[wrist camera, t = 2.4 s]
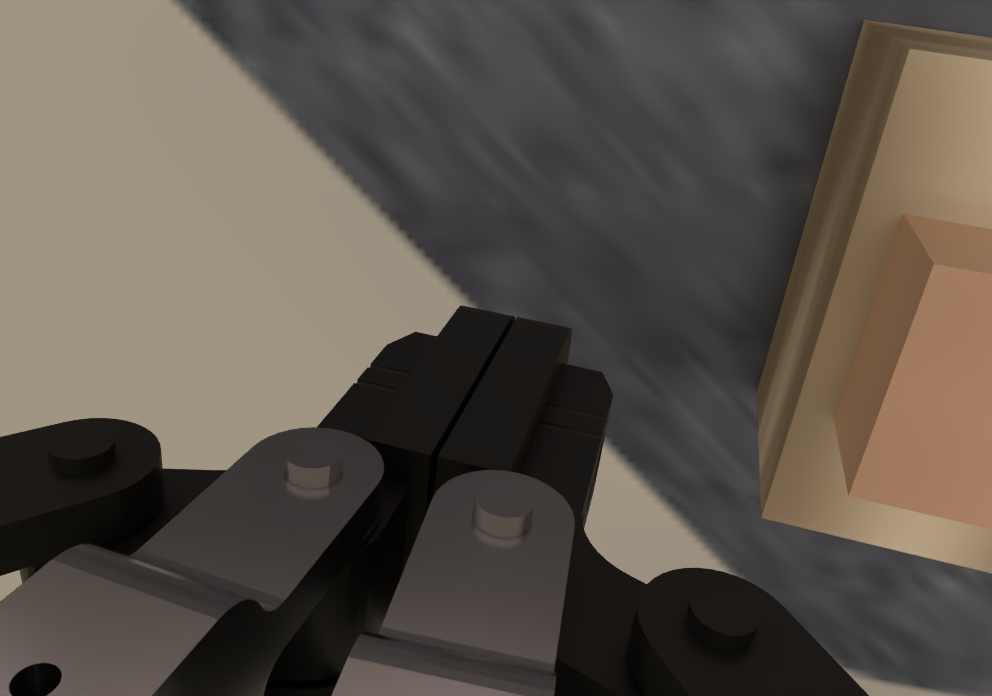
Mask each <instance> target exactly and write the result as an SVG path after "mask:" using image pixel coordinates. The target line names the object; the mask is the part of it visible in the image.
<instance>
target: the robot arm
mask: <svg viewBox="0 0 992 696" xmlns="http://www.w3.org/2000/svg"><path fill="white" fill-rule="evenodd" d="M571 333H572V329H571V328H567V327H563V326H558V325H553V324H548V323H543V322H539V321H534V320H529V319H524V318H520V317H517V318H516V320H515V317H514V316H509V315H504V314H500V313H495V312H490V311H485V310H481V309H476V308H471V307H466V306H460V307H459V308H458V309H457V310H456V312H455V313H454V315H453V316H452V317H451V319H450V320H449V321H448V323H447V324H446V325H445V327H444V328H443V329H442V331H441V332H440V334H439V335H438V336H432V335H428V334H423V333H418V332H414V333H412V334H410V335H408V336H405V337H403V338H401V339H399V340H397V341H394V342H392V343H390V344H388V345H386V347H385V348H384V349H383V350H382V351H381V352H380V354H379V355H378V356H377V357H376V358H375V359H374V361H373V362H372V363H371V366H370V368H367V369H366V370H365V371H364V373H363V374H362V375H361V376H360V377H359V378H358V381H357V384H355V383H354V384H353V385H352V386H351V388H350V389H349V390H348V391H347V392H346V394H345V395H344V396H343V397H342V398H341V399H340V401H339V402H338V403H337V404H336V405H335V407H334V408H333V409H332V410H331V411H330V412H329V414H328V415H327V416H326V417H325V418H324V419H323V421H322V422H321V423H320V424H319V425H318V427H317V428H313V427H312V428H299V429H293V430H288V431H284V432H281V433H277V434H275V435H272V436H269V437H267V438H266V439H264V440H262V441H260V442H259V443H257V444H256V445H255V446H253V447H252V448H251V449H250V450H249V451H248V452H247V453H245V454H244V455H243V456H242V457H241V458H240V459H239V460H238V461H237V462H235V463H234V464H233V465H232V466H231V467H230V468H229V469H228V470H188V469H162V457H161V448H160V443H159V441H158V439H157V437H156V436H155V435H154V434H153V433H152V432H151V431H149V430H147V429H146V428H144V427H142V426H140V425H138V424H135V423H132V422H128V421H124V420H118V419H109V418H89V419H80V420H73V421H68V422H63V423H59V424H54V425H50V426H46V427H41V428H37V429H33V430H28V431H25V432H20V433H16V434H12V435H7V436H3V437H0V576H1V575H5V574H7V573H11V572H14V571H17V570H20V574H21V580H22V584H21V585H20V586H19V587H18V588H16V589H15V590H14V591H13V592H12V593H10V594H9V595H8V596H6V597H5V598H4V599H3V600H1V601H0V696H869V695H868V694H867V693H866V692H865V691H864V690H863V689H862V688H861V687H860V686H859V685H858V684H857V683H856V682H855V681H854V680H853V679H852V677H851V676H850V675H849V674H848V673H847V672H846V671H845V670H844V669H843V668H842V667H841V666H840V665H839V664H838V663H837V662H836V661H835V660H834V659H833V658H832V657H831V656H830V655H829V653H828V652H827V651H826V650H825V649H824V648H823V647H822V646H821V645H820V644H819V643H818V642H817V641H816V640H815V639H814V638H813V637H812V636H811V635H810V634H809V633H808V632H807V631H806V630H805V628H804V627H803V626H802V625H801V624H800V623H799V622H798V621H797V620H796V619H795V618H794V617H793V616H792V615H791V614H790V613H789V612H788V611H787V610H786V609H785V608H784V607H783V606H782V605H781V604H780V603H779V602H778V601H777V600H776V599H775V598H774V597H772V596H771V595H769V594H768V593H767V592H765V591H764V590H763V589H761V588H759V587H757V586H756V585H754V584H752V583H750V582H748V581H746V580H744V579H742V578H739V577H737V576H734V575H731V574H728V573H725V572H721V571H716V570H712V569H703V568H683V569H676V570H672V571H669V572H666V573H663V574H661V575H659V576H658V577H655V578H654V579H653V580H651V581H650V582H649V583H648V584H645V583H643V582H641V581H639V580H637V579H635V578H634V577H631V576H630V575H628V574H626V573H624V572H623V571H621V570H619V569H618V568H616V567H615V566H613V565H612V564H611V563H609V562H608V561H607V560H606V559H604V557H603V556H601V555H600V554H599V553H598V552H597V550H596V549H595V548H594V547H593V546H592V544H591V543H590V541H589V539H588V538H587V536H586V534H585V531H584V527H585V522H586V518H587V515H588V511H589V506H590V503H591V499H592V495H593V491H594V486H595V481H596V476H597V471H598V466H599V461H600V457H601V452H602V447H603V442H604V437H605V432H606V427H607V422H608V417H609V412H610V407H611V402H612V397H613V393H612V391H611V389H610V387H609V385H608V383H607V381H606V379H605V377H604V375H603V373H602V372H599V371H595V370H590V369H585V368H581V367H576V366H572V365H567V361H568V355H569V349H570V343H571Z"/></svg>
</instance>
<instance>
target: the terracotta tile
mask: <svg viewBox="0 0 992 696" xmlns="http://www.w3.org/2000/svg"><path fill="white" fill-rule="evenodd" d="M834 425H835V430H836V435H837V440H838V445H839V450H840V456H841V461H842V466H843V471H844V476H845V481H846V486H847V491H848V496H850V497H854V498H858V499H863V500H867V501H871V502H876V503H880V504H884V505H889V506H893V507H897V508H901V509H906V510H910V511H914V512H919V513H923V514H927V515H932V516H936V517H940V518H944V519H949V520H953V521H957V522H962V523H966V524H970V525H975V526H979V527H983V528H987V529H992V229H988V228H982V227H977V226H971V225H965V224H959V223H954V222H948V221H942V220H937V219H931V218H925V217H920V216H914V215H908V214H904V215H903V218H902V221H901V224H900V227H899V230H898V233H897V236H896V239H895V242H894V244H893V247H892V250H891V253H890V256H889V259H888V262H887V265H886V268H885V271H884V274H883V277H882V280H881V282H880V285H879V288H878V291H877V294H876V297H875V300H874V303H873V306H872V309H871V312H870V315H869V318H868V321H867V323H866V326H865V329H864V332H863V335H862V338H861V341H860V344H859V347H858V350H857V353H856V356H855V359H854V362H853V364H852V367H851V370H850V373H849V376H848V379H847V382H846V385H845V388H844V391H843V394H842V397H841V400H840V402H839V405H838V408H837V411H836V414H835V417H834Z"/></svg>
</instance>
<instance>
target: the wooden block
mask: <svg viewBox="0 0 992 696" xmlns="http://www.w3.org/2000/svg"><path fill="white" fill-rule="evenodd" d="M904 214H908V215H914V216H920V217H925V218H931V219H937V220H942V221H948V222H954V223H959V224H965V225H971V226H977V227H982V228H988V229H992V37H985V36H977V35H970V34H963V33H956V32H949V31H942V30H934V29H927V28H920V27H913V26H906V25H898V24H891V23H884V22H877V21H870V20H864V22H863V25H862V29H861V32H860V36H859V39H858V43H857V46H856V50H855V53H854V57H853V60H852V63H851V67H850V70H849V74H848V77H847V81H846V84H845V88H844V91H843V95H842V98H841V102H840V105H839V108H838V112H837V115H836V119H835V122H834V126H833V129H832V133H831V136H830V140H829V143H828V147H827V150H826V153H825V157H824V160H823V164H822V167H821V171H820V174H819V178H818V181H817V185H816V188H815V192H814V195H813V198H812V202H811V205H810V209H809V212H808V216H807V219H806V223H805V226H804V230H803V233H802V237H801V240H800V243H799V247H798V250H797V254H796V257H795V261H794V264H793V268H792V271H791V275H790V278H789V282H788V285H787V288H786V292H785V295H784V299H783V302H782V306H781V309H780V313H779V316H778V320H777V323H776V327H775V330H774V333H773V337H772V340H771V344H770V347H769V351H768V354H767V358H766V361H765V365H764V368H763V372H762V375H761V378H760V382H759V385H758V389H757V413H758V440H759V468H760V495H761V518H764V519H768V520H772V521H776V522H780V523H785V524H789V525H793V526H797V527H801V528H805V529H809V530H814V531H818V532H822V533H826V534H830V535H834V536H839V537H843V538H847V539H851V540H855V541H859V542H863V543H868V544H872V545H876V546H880V547H884V548H888V549H893V550H897V551H901V552H905V553H909V554H913V555H917V556H922V557H926V558H930V559H934V560H938V561H942V562H946V563H951V564H955V565H959V566H963V567H967V568H971V569H976V570H980V571H984V572H988V573H992V529H987V528H983V527H979V526H975V525H970V524H966V523H962V522H957V521H953V520H949V519H944V518H940V517H936V516H932V515H927V514H923V513H919V512H914V511H910V510H906V509H901V508H897V507H893V506H889V505H884V504H880V503H876V502H871V501H867V500H863V499H858V498H854V497H850V496H848V491H847V486H846V481H845V476H844V471H843V466H842V461H841V456H840V450H839V445H838V440H837V435H836V430H835V425H834V417H835V414H836V411H837V408H838V405H839V402H840V400H841V397H842V394H843V391H844V388H845V385H846V382H847V379H848V376H849V373H850V370H851V367H852V364H853V362H854V359H855V356H856V353H857V350H858V347H859V344H860V341H861V338H862V335H863V332H864V329H865V326H866V323H867V321H868V318H869V315H870V312H871V309H872V306H873V303H874V300H875V297H876V294H877V291H878V288H879V285H880V282H881V280H882V277H883V274H884V271H885V268H886V265H887V262H888V259H889V256H890V253H891V250H892V247H893V244H894V242H895V239H896V236H897V233H898V230H899V227H900V224H901V221H902V218H903V215H904Z"/></svg>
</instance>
